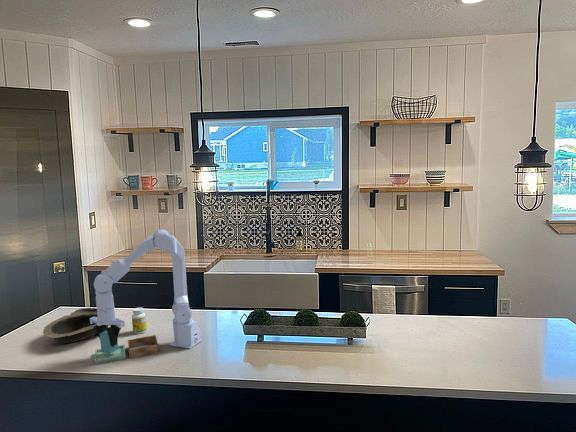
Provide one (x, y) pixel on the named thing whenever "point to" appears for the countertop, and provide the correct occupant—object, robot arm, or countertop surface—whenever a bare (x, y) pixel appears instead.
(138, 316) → the supplement bottle
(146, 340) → the sleeve
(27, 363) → the countertop surface
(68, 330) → the stone bowl
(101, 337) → the block
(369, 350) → the countertop surface
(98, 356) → the tray
